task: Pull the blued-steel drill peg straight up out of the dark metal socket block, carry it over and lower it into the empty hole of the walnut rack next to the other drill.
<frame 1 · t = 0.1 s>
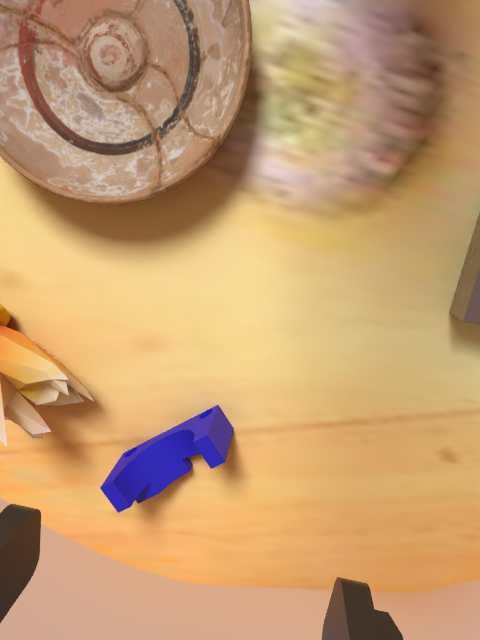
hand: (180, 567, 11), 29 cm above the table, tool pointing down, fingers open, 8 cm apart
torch: (0, 318, 43), on the table
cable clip: (181, 444, 44), on the table
ceramic bowl: (117, 61, 35), on the table
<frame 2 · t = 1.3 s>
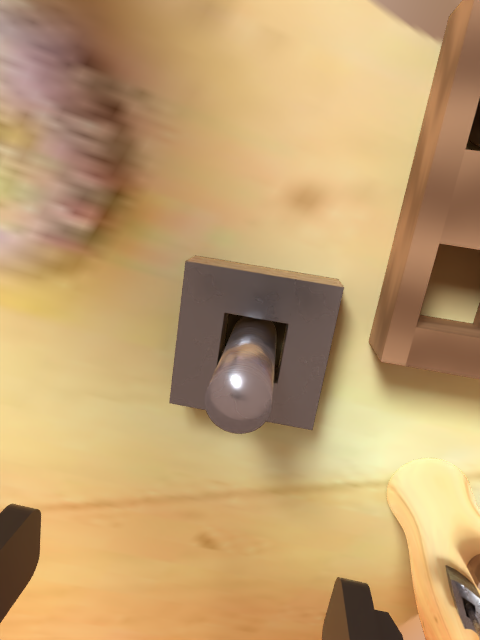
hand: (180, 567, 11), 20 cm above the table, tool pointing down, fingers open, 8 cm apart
socket block: (254, 335, 30), on the table
beer glass: (426, 490, 32), on the table
drill peg: (254, 335, 30), resting in socket block
rack: (468, 205, 27), on the table
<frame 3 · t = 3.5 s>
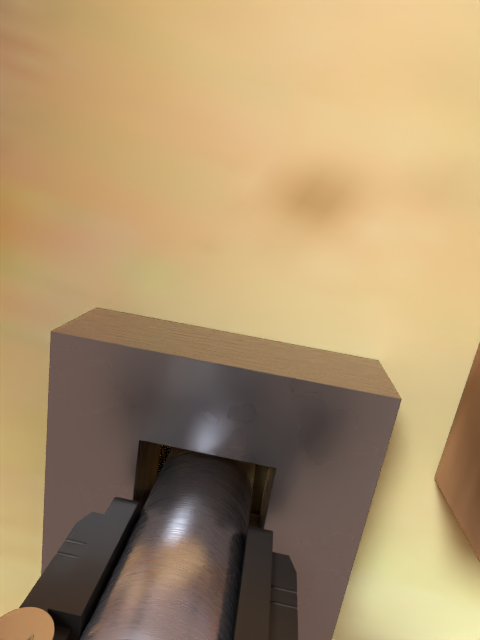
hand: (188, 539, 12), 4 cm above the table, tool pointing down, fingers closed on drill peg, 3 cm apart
socket block: (214, 457, 16), on the table
drill peg: (214, 457, 16), resting in socket block, touching gripper
when the fingers open (6 cm above the table, at t = 8.3 s): drill peg drops 2 cm, resting in rack.
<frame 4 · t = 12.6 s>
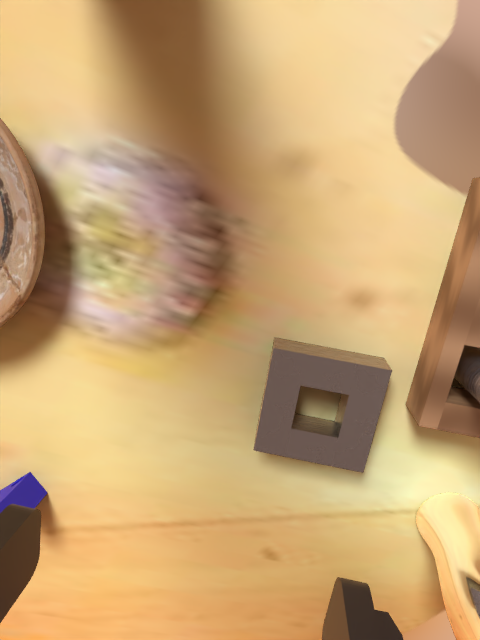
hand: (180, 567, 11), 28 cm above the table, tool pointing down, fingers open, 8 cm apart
socket block: (317, 397, 40), on the table
beer glass: (446, 516, 41), on the table
drill peg: (466, 362, 37), resting in rack
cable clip: (7, 508, 48), on the table
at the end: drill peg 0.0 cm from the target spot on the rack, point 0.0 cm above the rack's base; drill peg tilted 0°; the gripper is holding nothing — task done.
